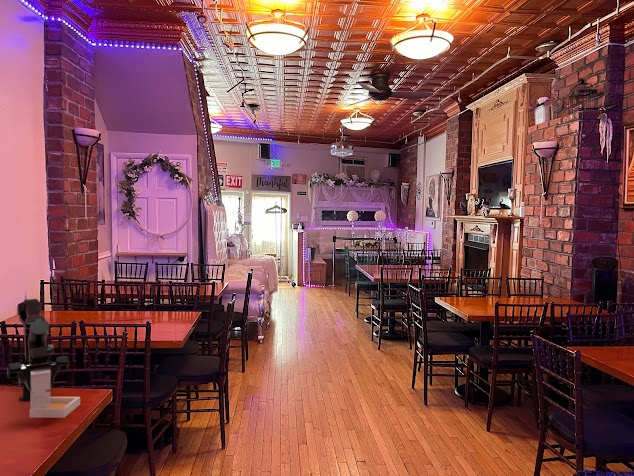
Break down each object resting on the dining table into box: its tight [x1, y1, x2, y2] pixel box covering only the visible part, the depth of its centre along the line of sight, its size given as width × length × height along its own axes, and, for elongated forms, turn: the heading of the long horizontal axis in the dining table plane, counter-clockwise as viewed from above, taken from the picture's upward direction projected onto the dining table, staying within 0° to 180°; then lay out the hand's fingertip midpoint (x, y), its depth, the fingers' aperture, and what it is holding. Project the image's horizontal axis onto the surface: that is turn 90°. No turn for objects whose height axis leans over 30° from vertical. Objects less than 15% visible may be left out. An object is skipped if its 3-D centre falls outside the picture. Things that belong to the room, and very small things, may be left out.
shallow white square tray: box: [29, 396, 81, 419], centre depth 176 cm, size 12×12×3 cm
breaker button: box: [45, 403, 67, 408], centre depth 176 cm, size 8×8×1 cm
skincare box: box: [29, 368, 52, 409], centre depth 163 cm, size 6×4×12 cm
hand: (40, 388), depth 162 cm, fingers closed on skincare box, 6 cm apart
